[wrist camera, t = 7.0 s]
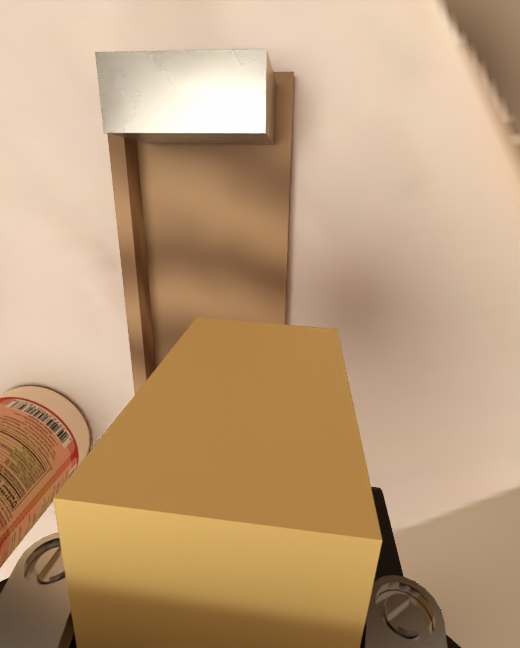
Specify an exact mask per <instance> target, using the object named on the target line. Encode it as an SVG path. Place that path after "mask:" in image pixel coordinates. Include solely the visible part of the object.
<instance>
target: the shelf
mask: <svg viewBox="0 0 520 648" xmlns="http://www.w3.org/2000/svg"><path fill="white" fill-rule="evenodd" d="M273 73H274V77H275V80H276V116H275V145H167V144H147V143H143V142H139V141H135V140H131V139H127V138H123V137H119V136H115V135H111V134H108V142H109V152H110V161H111V171H112V181H113V190H114V200H115V209H116V219H117V228H118V238H119V247H120V257H121V266H122V276H123V285H124V295H125V304H126V314H127V323H128V333H129V342H130V352H131V361H132V371H133V380H134V390H135V395H136V393H137V392H138V391H139V389H140V388H141V387H142V386H143V384H144V383H145V382H146V381H147V379H148V378H149V377H150V376H151V374H152V373H153V372H154V371H155V369H156V368H157V367H158V366H159V364H160V363H161V362H162V361H163V359H164V358H165V357H166V355H167V354H168V353H169V352H170V350H171V349H172V348H173V347H174V345H175V344H176V343H177V342H178V340H179V339H180V338H181V337H182V335H183V334H184V333H185V332H186V330H187V329H188V328H189V326H190V325H191V324H192V323H193V321H194V320H195V319H196V318H197V317H201V318H213V319H224V320H236V321H247V322H259V323H270V324H282V325H285V314H286V286H287V258H288V230H289V202H290V174H291V146H292V118H293V90H294V72H273Z"/></svg>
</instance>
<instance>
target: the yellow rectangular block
mask: <svg viewBox="0 0 520 648" xmlns="http://www.w3.org/2000/svg"><path fill="white" fill-rule="evenodd" d="M53 500H54V506H55V512H56V519H57V525H58V531H59V538H60V544H61V550H62V557H63V563H64V569H65V576H66V582H67V589H68V595H69V601H70V608H71V614H72V620H73V627H74V633H75V639H76V646H77V648H360V644H361V639H362V635H363V630H364V625H365V621H366V616H367V611H368V606H369V602H370V597H371V592H372V587H373V583H374V578H375V573H376V568H377V564H378V559H379V554H380V549H381V545H382V536H381V532H380V527H379V522H378V518H377V513H376V508H375V504H374V499H373V494H372V490H371V485H370V480H369V476H368V471H367V466H366V462H365V457H364V452H363V448H362V443H361V438H360V434H359V429H358V424H357V420H356V415H355V410H354V406H353V401H352V396H351V392H350V387H349V382H348V378H347V373H346V368H345V364H344V359H343V354H342V350H341V345H340V340H339V336H338V331H337V329H328V328H317V327H305V326H294V325H282V324H270V323H259V322H247V321H236V320H224V319H213V318H201V317H197V318H196V319H195V320H194V321H193V323H192V324H191V325H190V326H189V328H188V329H187V330H186V332H185V333H184V334H183V335H182V337H181V338H180V339H179V340H178V342H177V343H176V344H175V345H174V347H173V348H172V349H171V350H170V352H169V353H168V354H167V355H166V357H165V358H164V359H163V361H162V362H161V363H160V364H159V366H158V367H157V368H156V369H155V371H154V372H153V373H152V374H151V376H150V377H149V378H148V379H147V381H146V382H145V383H144V384H143V386H142V387H141V388H140V389H139V391H138V392H137V393H136V395H135V396H134V397H133V398H132V400H131V401H130V402H129V403H128V405H127V406H126V407H125V408H124V410H123V411H122V412H121V413H120V415H119V416H118V417H117V418H116V420H115V421H114V422H113V424H112V425H111V426H110V427H109V429H108V430H107V431H106V432H105V434H104V435H103V436H102V437H101V439H100V440H99V441H98V442H97V444H96V445H95V446H94V447H93V449H92V450H91V451H90V453H89V454H88V455H87V456H86V458H85V459H84V460H83V461H82V463H81V464H80V465H79V466H78V468H77V469H76V470H75V471H74V473H73V474H72V475H71V476H70V478H69V479H68V480H67V482H66V483H65V484H64V485H63V487H62V488H61V489H60V490H59V492H58V493H57V494H56V495H55V497H54V498H53Z"/></svg>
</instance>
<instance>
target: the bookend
mask: <svg viewBox="0 0 520 648" xmlns="http://www.w3.org/2000/svg"><path fill="white" fill-rule="evenodd" d="M95 55H96V64H97V74H98V83H99V92H100V101H101V111H102V120H103V129H104V133H107V134H111V135H115V136H119V137H123V138H127V139H131V140H135V141H139V142H143V143H147V144H167V145H275V116H276V80H275V77H274V73H273V70H272V66H271V63H270V59H269V56H268V52H267V49H239V50H184V51H129V52H95Z"/></svg>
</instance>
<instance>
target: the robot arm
mask: <svg viewBox="0 0 520 648" xmlns="http://www.w3.org/2000/svg"><path fill="white" fill-rule="evenodd" d="M371 490H372V494H373V499H374V504H375V508H376V513H377V518H378V522H379V527H380V532H381V536H382V545H381V549H380V554H379V559H378V564H377V568H376V573H375V578H374V583H373V587H372V592H371V597H370V602H369V606H368V611H367V616H366V621H365V625H364V630H363V635H362V639H361V644H360V648H461V647H460V646H458V645H457V644H456V643H455V642H454V641H453V640H452V639H451V638H450V637H448V636H447V635H446V632H445V624H444V619H443V615H442V612H441V609H440V607H439V606H438V604H437V602H436V601H435V599H434V598H433V597H432V595H431V594H430V593H429V592H428V591H427V590H426V589H425V588H423V587H422V586H420V585H419V584H418V583H416V582H415V581H413V580H410V579H408V578H405V577H403V573H402V569H401V564H400V561H399V556H398V552H397V548H396V544H395V540H394V536H393V532H392V528H391V524H390V520H389V516H388V512H387V508H386V504H385V500H384V496H383V492H382V490H381V489H380V488H376V487H371ZM0 648H77V646H76V639H75V633H74V627H73V620H72V614H71V608H70V601H69V595H68V589H67V582H66V576H65V569H64V563H63V557H62V550H61V544H60V538H59V533H54V534H51V535H49V536H46V537H44V538H42V539H40V540H39V541H37V542H35V543H34V544H33V545H32V546H30V547H29V548H28V549H27V550H26V551H25V552H24V553H23V555H22V556H21V558H20V559H19V560H18V562H17V564H16V566H15V568H14V570H13V572H12V573H11V575H10V577H9V578H7V579H5V580H3V581H1V582H0Z"/></svg>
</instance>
